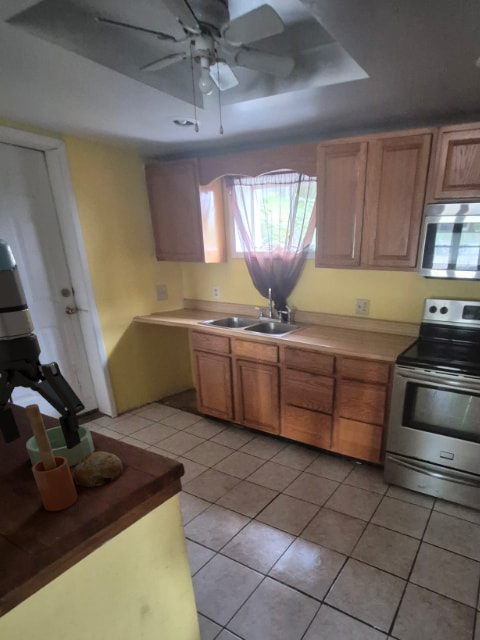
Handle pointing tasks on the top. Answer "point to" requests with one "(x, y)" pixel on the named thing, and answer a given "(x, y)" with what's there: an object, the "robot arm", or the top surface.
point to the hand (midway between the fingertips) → (43, 442)
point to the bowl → (58, 441)
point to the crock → (55, 485)
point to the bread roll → (97, 469)
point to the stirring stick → (41, 436)
